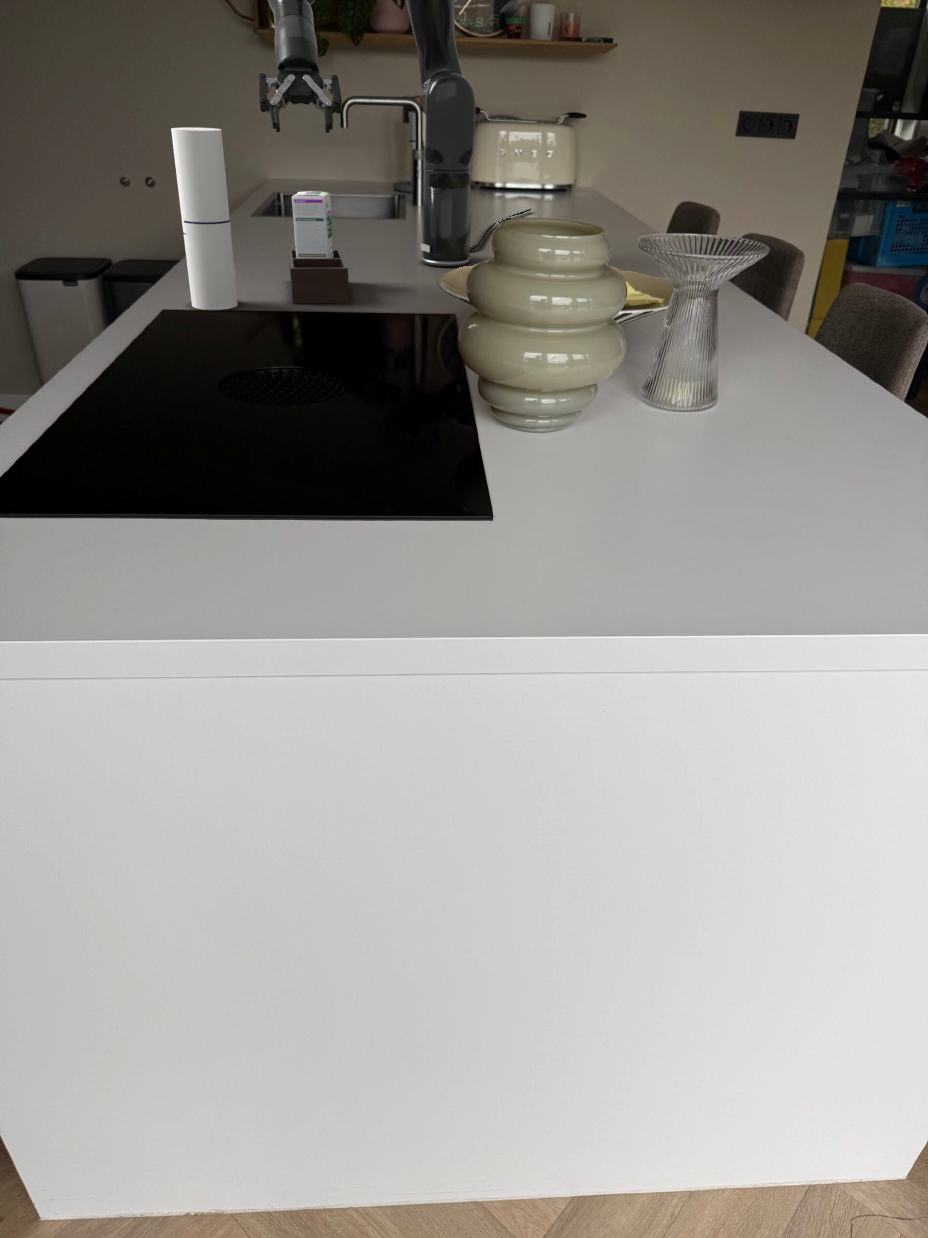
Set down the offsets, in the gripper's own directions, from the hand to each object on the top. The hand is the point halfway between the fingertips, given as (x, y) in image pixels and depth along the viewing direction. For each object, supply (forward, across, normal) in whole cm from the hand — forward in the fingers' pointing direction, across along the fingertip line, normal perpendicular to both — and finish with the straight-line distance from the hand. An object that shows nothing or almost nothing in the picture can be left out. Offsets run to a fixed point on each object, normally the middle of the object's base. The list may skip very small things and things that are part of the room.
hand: (303, 128), depth 159 cm
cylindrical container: (+35, -16, -1) cm, 39 cm away
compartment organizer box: (+29, 0, +6) cm, 29 cm away
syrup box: (+25, 0, +8) cm, 26 cm away
